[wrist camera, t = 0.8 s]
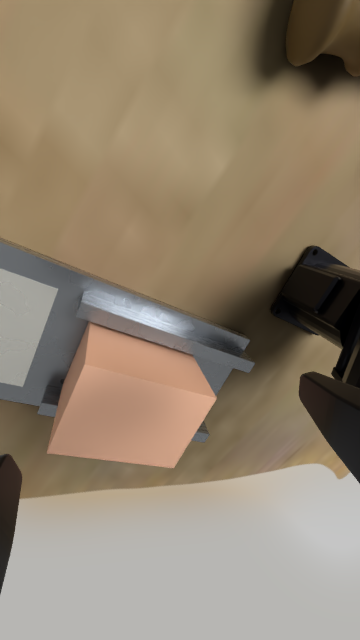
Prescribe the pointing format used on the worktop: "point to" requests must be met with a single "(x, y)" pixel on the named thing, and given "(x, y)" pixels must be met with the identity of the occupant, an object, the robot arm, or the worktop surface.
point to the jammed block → (129, 400)
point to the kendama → (324, 32)
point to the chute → (72, 319)
